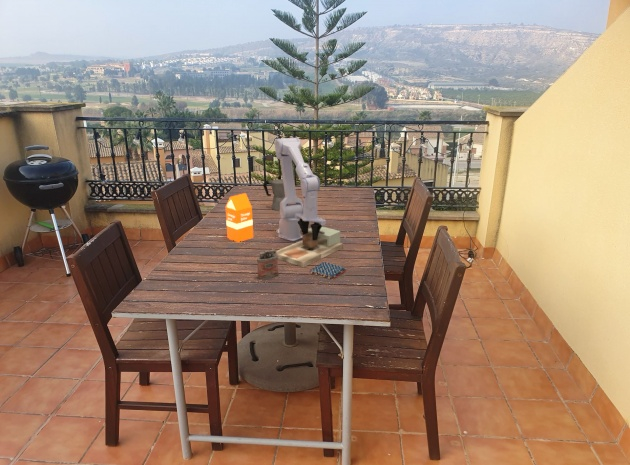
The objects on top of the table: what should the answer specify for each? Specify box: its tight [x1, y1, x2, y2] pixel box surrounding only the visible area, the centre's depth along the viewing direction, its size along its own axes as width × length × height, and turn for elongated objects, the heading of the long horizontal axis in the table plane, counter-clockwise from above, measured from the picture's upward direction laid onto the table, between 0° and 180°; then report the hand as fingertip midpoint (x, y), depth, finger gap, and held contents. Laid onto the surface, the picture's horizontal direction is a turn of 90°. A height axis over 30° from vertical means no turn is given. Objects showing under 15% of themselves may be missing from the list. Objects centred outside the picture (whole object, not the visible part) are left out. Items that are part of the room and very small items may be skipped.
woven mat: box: [309, 261, 347, 281], centre depth 173 cm, size 10×11×2 cm
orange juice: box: [225, 192, 254, 243], centre depth 204 cm, size 8×9×20 cm
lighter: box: [256, 248, 280, 280], centre depth 168 cm, size 8×3×10 cm, turn 117°
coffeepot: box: [262, 175, 289, 212], centre depth 247 cm, size 15×9×18 cm, turn 103°
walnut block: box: [302, 232, 318, 249], centre depth 190 cm, size 4×4×4 cm
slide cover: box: [308, 226, 341, 247], centre depth 196 cm, size 12×8×6 cm, turn 51°
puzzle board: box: [273, 237, 344, 268], centre depth 190 cm, size 16×26×2 cm, turn 141°
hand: (310, 238), depth 190 cm, fingers closed on walnut block, 4 cm apart
